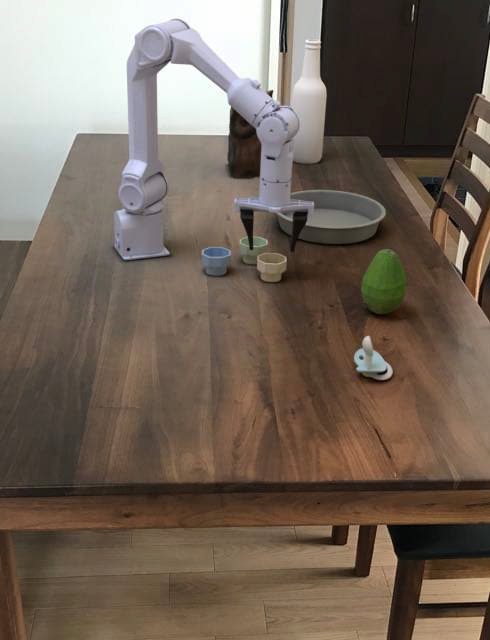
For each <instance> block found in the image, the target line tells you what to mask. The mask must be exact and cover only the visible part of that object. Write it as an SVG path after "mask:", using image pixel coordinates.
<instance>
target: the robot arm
mask: <svg viewBox="0 0 490 640" xmlns="http://www.w3.org/2000/svg"><path fill="white" fill-rule="evenodd" d="M168 64H172V65H189V66H192V67H194V68H195V69H196V70H197V71H198V72H200V73H201V74H202V75H203V76H205V77H206V78H207V79H209V80H210V81H211V82H212V83H213V84H215V85H216V86H217V87H218V88H219V89H221V90H222V91H223V92H224V93H226V96H227V103H228V105H229V106H230V108H231V107H232V108H233V109H235V110H236V111H237V112H238V113H239V114H240V115H241V116H242V117H243V118H244V119H246V120H247V121H248V122H249V123H250V124H251V125H252V126H253V127H254V128H256V132H257V136H258V138H259V140H260V142H261V144H262V149H261V166H260V176H259V186H258V187H259V191H258V196H257V197H245V198H244V197H243V198H234V210H233V211H234V213H239V216H240V221H241V223H242V226H243V227H244V230H245V232H246V233H245V234H246V237H248V241H249V250H253V237H254V218H255V217H254V216H255V215H254V214H255V212H256V213H260V212H261V213H274V214H276V213H293V223H292V234H291V235H290V240H289V241H290V242H289V251H290V253H294V252H295V249H296V245H297V242H298V237H299V235H300V233H301V231H302V229H303V227H304V226H305V224H306V222H307V219H308V217H307V214H308V215H313V214H314V202H311V201H302V200H295V199H290V194H291V193H292V192H291V191H292V179H293V178H292V177H293V162H294V161H293V145H294V139H292V138H293V137H294V136H295V135H296V134H297V133H298V131H299V127H300V122H299V118H298V116H297V114H296V113H295V112H294V110H293V109H292V106H289V105H281V102H280V101H279V100H278V99H276V100H275V99H274V98H273V99H272V98H271V97H270V96H269V95H268V94H267V93H266V92H265V90H264V89H263V88H262V87H261V86H262V83H261V82H260V81H259V80H257V79H254V80H253V79H252V78H251V77H244V78H242V77H239V76H238V75H237V73H236V72H235V71H233V69H232V68H230V66H229V65H227V63H226V62H225V61H223V59H222V58H221V57H220V56H219V55H218V54H217V53H216V52H215V51H214V50H213V49H212V48H211V47H210V46H209V45H208V44H207V43H206V42H205V41H204V40H203V38H202V37H201V34H200V33H199V31H197V30H196V29H194V28H193V27H191V26H190V24H189V23H188V22H186V21H185V20H183V19H182V18H172V19H170V20H167V21H163V22H160V23H156V24H148V25H146V26H145V27H144V28H142V29H141V30H140V31H138V32H137V33H136V34H135V35H134V44H133V46H132V49H131V51H130V53H129V56H128V58H127V61H126V90H127V91H126V92H127V94H126V95H127V120H128V121H127V123H128V127H127V128H128V152H129V153H128V156H129V158H128V162H127V164H125V167H124V169H123V170H122V172H121V183H120V185H119V187H118V191H117V195H118V196H117V197H118V200H119V203H120V205H121V206H122V208H123V209H120V210H116V211H114V212H113V213H114V214H113V229H114V230H113V231H114V246H113V247H114V249H115V250H116V252H118V254H119V255H120V257H121V258H122V260H124V261H131V260H141V259H148V258H157V257H166V256H170V254H171V253H170V251H169V250H168V249H167V248H166V246H165V245H164V215H163V214H164V213H163V212H164V211H163V210H164V209H163V205H164V199H166V197H167V195H168V194H169V189H170V186H169V185H170V184H169V181H168V179H167V176H166V173H165V165H164V164H163V163H162V161H161V160H160V158H159V134H158V133H159V132H158V131H159V128H158V126H159V125H158V74H159V73H160V71H162V70H163V69H164V68H165V67H166V66H168ZM290 139H292V140H290Z"/></svg>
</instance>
